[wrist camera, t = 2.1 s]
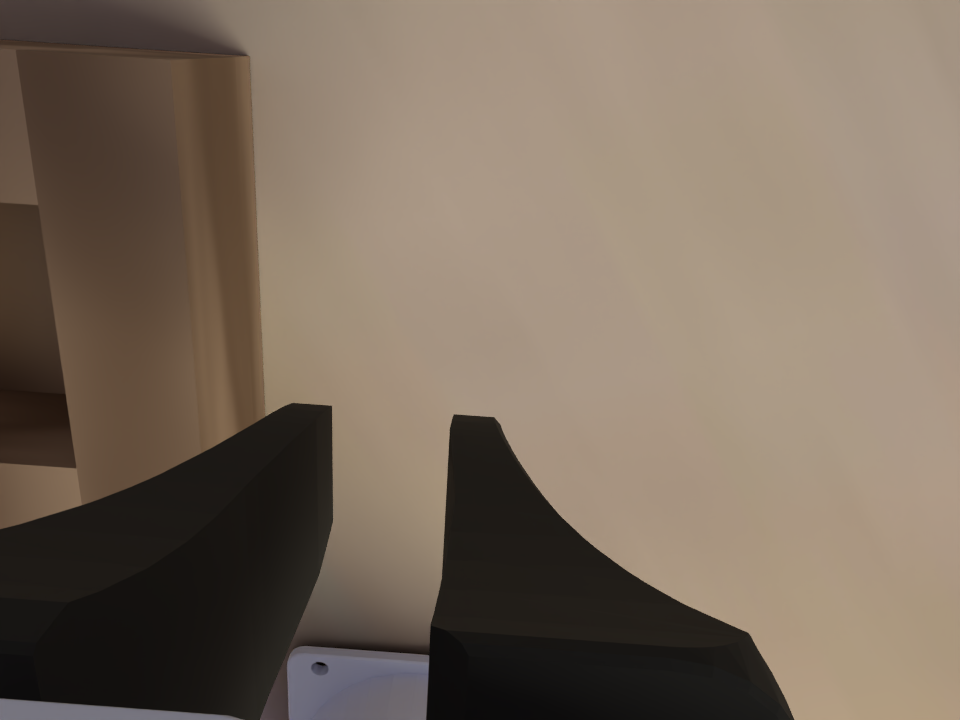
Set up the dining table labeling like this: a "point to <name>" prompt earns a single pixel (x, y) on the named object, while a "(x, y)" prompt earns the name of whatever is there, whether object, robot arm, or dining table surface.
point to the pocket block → (122, 268)
